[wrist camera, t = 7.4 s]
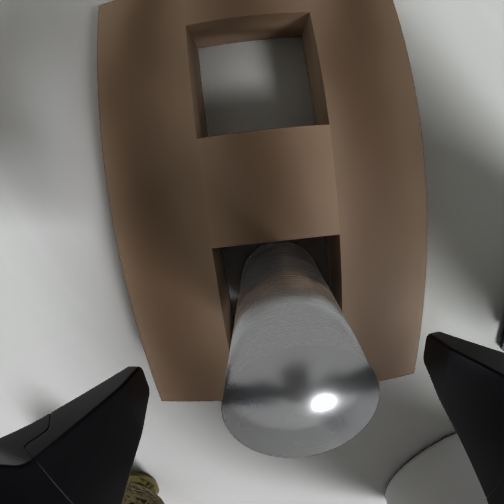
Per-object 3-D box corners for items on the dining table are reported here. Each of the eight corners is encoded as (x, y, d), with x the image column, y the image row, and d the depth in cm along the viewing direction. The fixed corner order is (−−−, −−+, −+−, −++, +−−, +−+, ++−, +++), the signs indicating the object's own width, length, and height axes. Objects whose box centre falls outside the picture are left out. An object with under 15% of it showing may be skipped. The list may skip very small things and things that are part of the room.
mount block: (367, -1, 12) (383, -25, 10) (395, 346, 18) (413, 373, 15) (121, 26, 13) (98, 6, 10) (173, 370, 18) (161, 400, 16)
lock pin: (314, 237, 16) (386, 332, 6) (318, 307, 17) (370, 444, 7) (237, 245, 16) (207, 354, 7) (246, 315, 17) (234, 461, 8)
